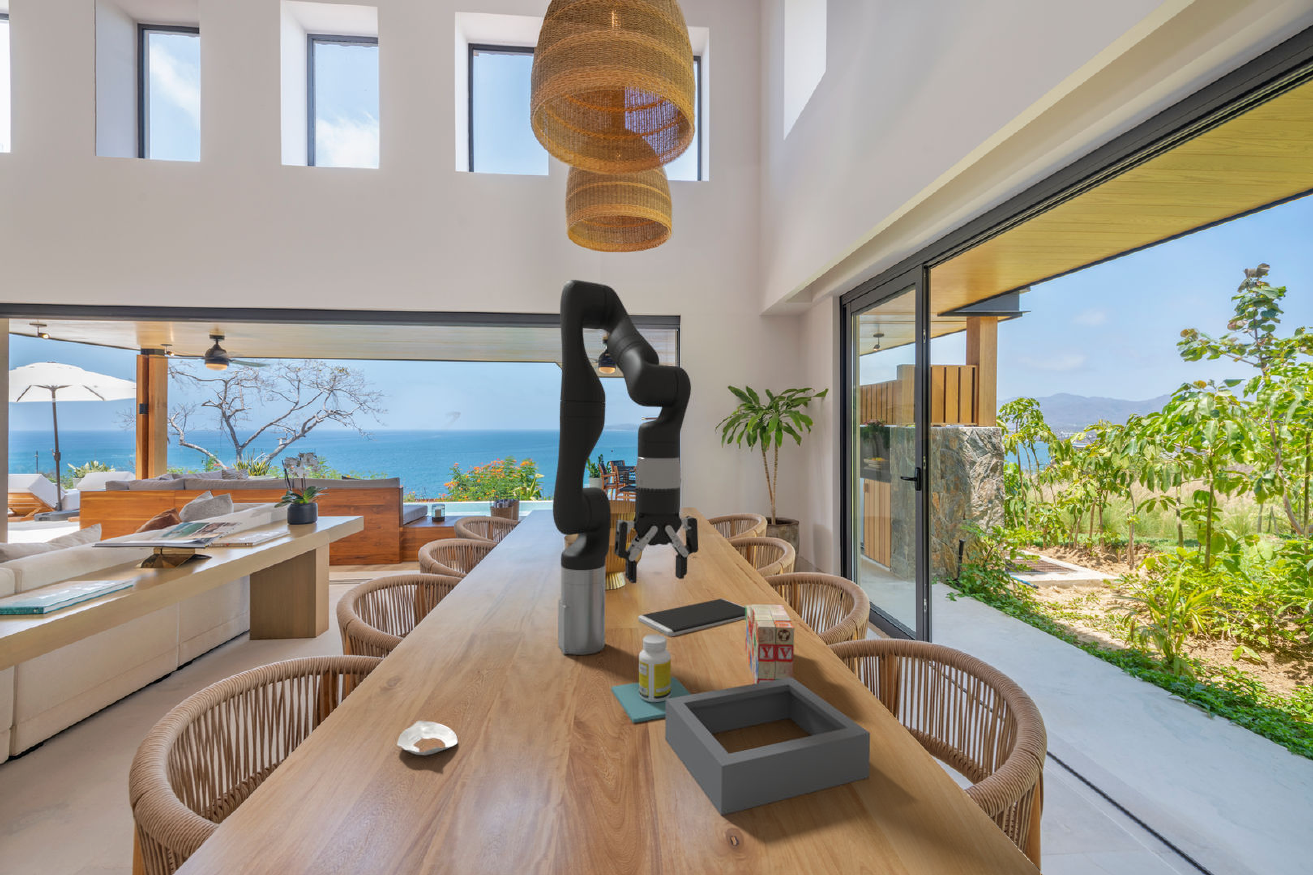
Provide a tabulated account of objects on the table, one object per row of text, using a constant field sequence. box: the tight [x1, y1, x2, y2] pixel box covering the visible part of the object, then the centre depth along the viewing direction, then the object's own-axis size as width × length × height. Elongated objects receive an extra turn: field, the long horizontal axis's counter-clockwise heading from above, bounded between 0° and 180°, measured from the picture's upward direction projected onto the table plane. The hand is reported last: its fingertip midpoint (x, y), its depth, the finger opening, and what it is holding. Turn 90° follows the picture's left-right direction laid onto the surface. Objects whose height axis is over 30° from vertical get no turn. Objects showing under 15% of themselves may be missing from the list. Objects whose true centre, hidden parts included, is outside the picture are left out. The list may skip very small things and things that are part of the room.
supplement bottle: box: [638, 634, 672, 702], centre depth 99 cm, size 5×5×10 cm
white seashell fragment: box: [396, 720, 458, 756], centre depth 84 cm, size 8×12×2 cm, turn 34°
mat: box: [610, 676, 692, 724], centre depth 99 cm, size 12×12×1 cm
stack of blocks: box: [744, 603, 795, 684], centre depth 111 cm, size 21×6×12 cm, turn 177°
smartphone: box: [637, 598, 745, 637], centre depth 141 cm, size 13×27×2 cm, turn 125°
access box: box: [664, 677, 871, 816], centre depth 82 cm, size 22×18×6 cm
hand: (656, 579), depth 98 cm, fingers open, 8 cm apart
